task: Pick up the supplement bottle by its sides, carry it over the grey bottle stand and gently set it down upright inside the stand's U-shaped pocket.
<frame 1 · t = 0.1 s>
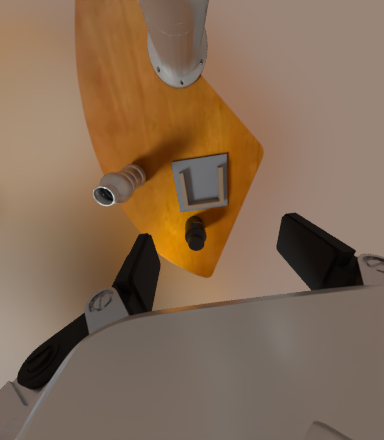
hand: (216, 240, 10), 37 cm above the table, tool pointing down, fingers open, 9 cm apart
supplement bottle: (194, 223, 52), on the table
plastic bottle: (137, 174, 43), on the table
bottle stand: (201, 184, 45), on the table
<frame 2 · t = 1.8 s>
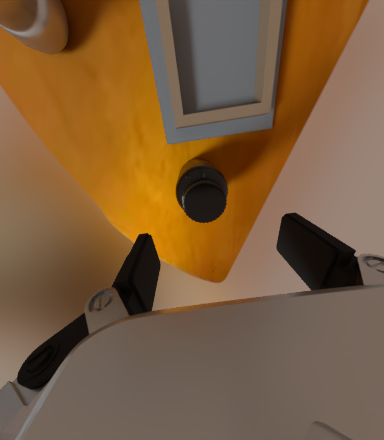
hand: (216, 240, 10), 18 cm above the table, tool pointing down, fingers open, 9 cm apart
supplement bottle: (197, 178, 26), on the table
plastic bottle: (47, 22, 16), on the table
bottle stand: (215, 66, 19), on the table
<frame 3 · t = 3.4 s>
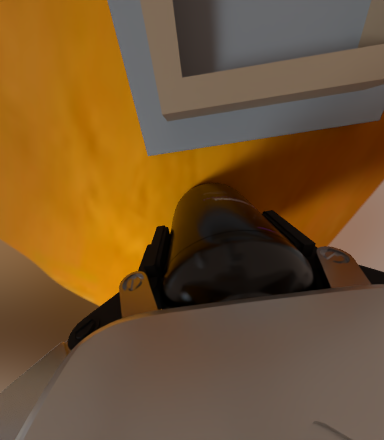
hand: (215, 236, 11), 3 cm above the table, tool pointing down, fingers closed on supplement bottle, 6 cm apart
supplement bottle: (208, 215, 14), on the table, touching gripper
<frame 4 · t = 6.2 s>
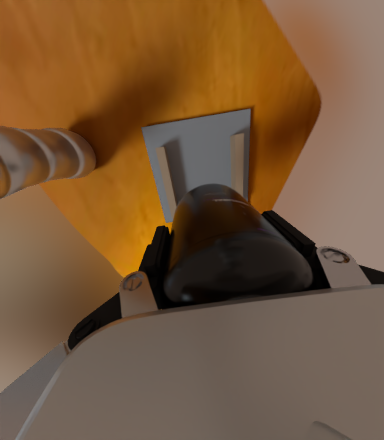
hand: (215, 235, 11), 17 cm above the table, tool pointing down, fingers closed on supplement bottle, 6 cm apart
supplement bottle: (208, 215, 14), point 13 cm above the table, touching gripper
plastic bottle: (81, 154, 23), on the table
bottle stand: (201, 173, 25), on the table
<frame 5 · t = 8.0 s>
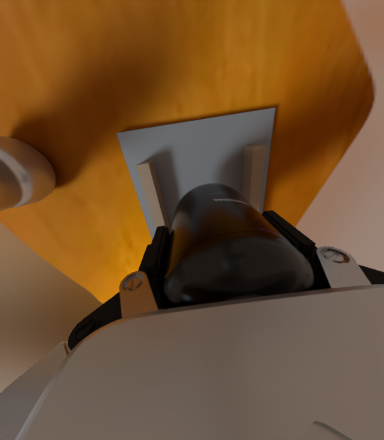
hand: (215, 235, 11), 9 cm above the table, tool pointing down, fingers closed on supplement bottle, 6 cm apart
supplement bottle: (208, 215, 14), point 6 cm above the table, touching gripper
plastic bottle: (35, 167, 17), on the table
bottle stand: (201, 193, 19), on the table
when the fingers open (5 cm above the table, at t = 9.4 s): supplement bottle stays where it is, resting on bottle stand.
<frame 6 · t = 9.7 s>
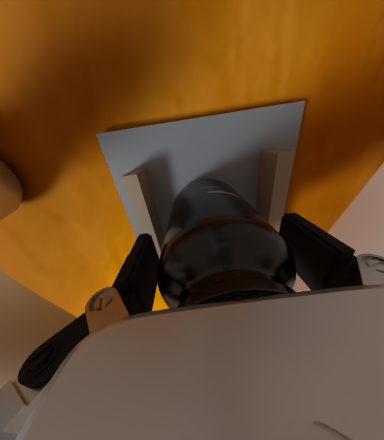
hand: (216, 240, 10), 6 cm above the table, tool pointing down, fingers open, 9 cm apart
supplement bottle: (205, 210, 15), point 1 cm above the table, touching bottle stand
bottle stand: (206, 208, 15), on the table
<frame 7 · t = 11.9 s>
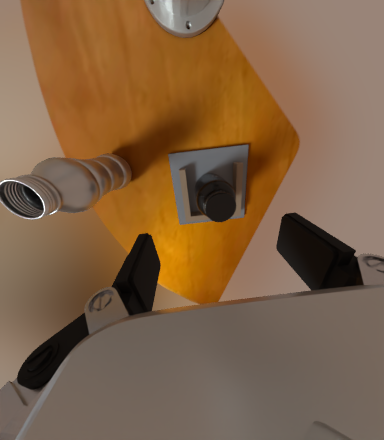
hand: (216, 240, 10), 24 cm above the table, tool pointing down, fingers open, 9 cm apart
supplement bottle: (209, 188, 32), point 1 cm above the table, touching bottle stand
plastic bottle: (119, 170, 30), on the table
bottle stand: (209, 188, 33), on the table
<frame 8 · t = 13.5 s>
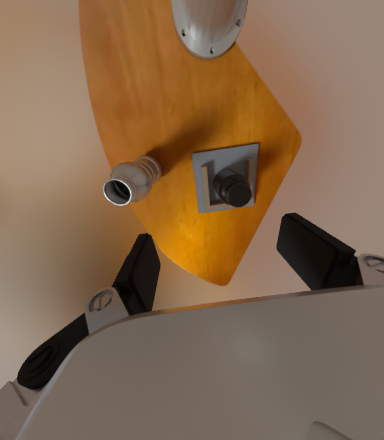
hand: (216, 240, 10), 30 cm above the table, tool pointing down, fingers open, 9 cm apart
supplement bottle: (224, 181, 38), point 1 cm above the table, touching bottle stand
plastic bottle: (150, 168, 36), on the table
bottle stand: (224, 181, 39), on the table
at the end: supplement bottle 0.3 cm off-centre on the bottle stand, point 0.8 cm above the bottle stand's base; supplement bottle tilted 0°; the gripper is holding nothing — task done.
